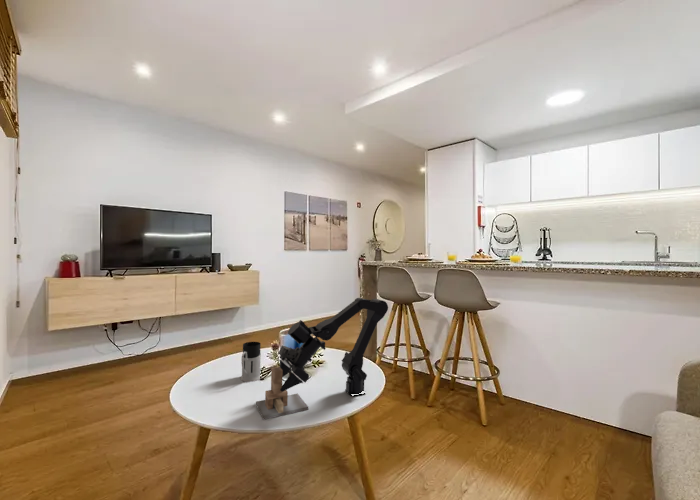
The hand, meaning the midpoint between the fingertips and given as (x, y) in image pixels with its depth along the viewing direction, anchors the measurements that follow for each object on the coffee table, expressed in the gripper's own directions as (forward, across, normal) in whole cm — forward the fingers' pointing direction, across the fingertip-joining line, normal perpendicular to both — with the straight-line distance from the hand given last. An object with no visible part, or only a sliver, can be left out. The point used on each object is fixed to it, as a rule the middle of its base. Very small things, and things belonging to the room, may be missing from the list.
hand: (277, 386), depth 118 cm
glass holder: (+9, -30, +3) cm, 31 cm away
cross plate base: (+4, 0, +7) cm, 8 cm away
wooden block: (+5, 0, +5) cm, 7 cm away
